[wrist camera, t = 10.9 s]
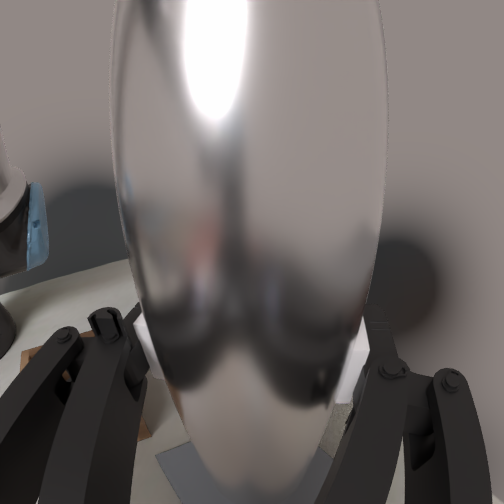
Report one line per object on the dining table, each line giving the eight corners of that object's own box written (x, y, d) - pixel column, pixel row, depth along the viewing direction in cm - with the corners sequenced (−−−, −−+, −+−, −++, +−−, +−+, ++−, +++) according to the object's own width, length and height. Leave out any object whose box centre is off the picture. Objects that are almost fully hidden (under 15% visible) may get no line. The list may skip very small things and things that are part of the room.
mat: (156, 457, 19) (154, 455, 18) (271, 403, 25) (271, 400, 25) (232, 566, 9) (231, 567, 9) (360, 485, 15) (362, 483, 15)
